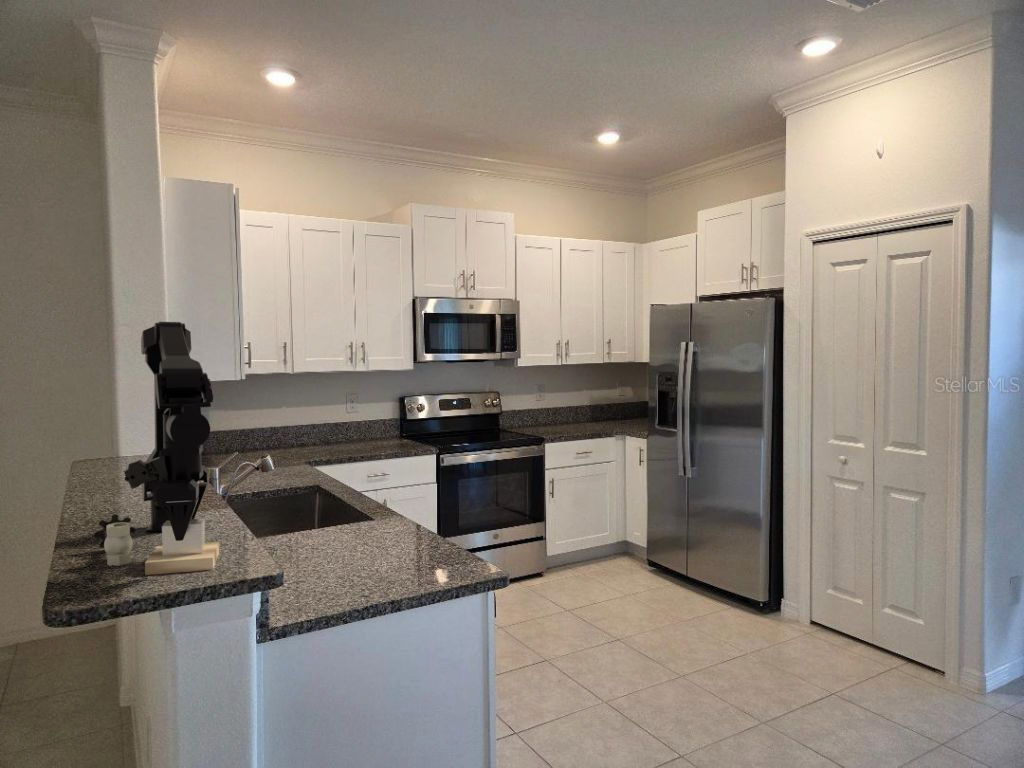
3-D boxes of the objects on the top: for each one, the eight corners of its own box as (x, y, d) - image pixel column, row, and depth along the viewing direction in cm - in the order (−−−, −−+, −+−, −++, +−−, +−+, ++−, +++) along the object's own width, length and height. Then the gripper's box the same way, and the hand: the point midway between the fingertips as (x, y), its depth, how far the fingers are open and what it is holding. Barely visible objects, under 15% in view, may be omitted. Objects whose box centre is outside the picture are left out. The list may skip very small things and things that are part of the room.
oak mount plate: (157, 557, 120) (156, 546, 120) (219, 552, 123) (219, 541, 123) (145, 575, 111) (144, 562, 110) (212, 569, 114) (212, 557, 113)
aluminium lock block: (166, 549, 118) (166, 520, 118) (205, 547, 120) (204, 518, 119) (162, 556, 114) (162, 526, 114) (202, 553, 116) (201, 523, 116)
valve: (142, 563, 117) (135, 546, 127) (141, 524, 117) (135, 511, 127) (96, 569, 114) (93, 552, 124) (95, 530, 113) (93, 515, 123)
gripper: (140, 436, 122) (142, 523, 123) (114, 450, 105) (116, 552, 105) (209, 434, 126) (210, 519, 126) (194, 447, 108) (196, 546, 109)
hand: (183, 533), depth 117 cm, fingers open, 9 cm apart
